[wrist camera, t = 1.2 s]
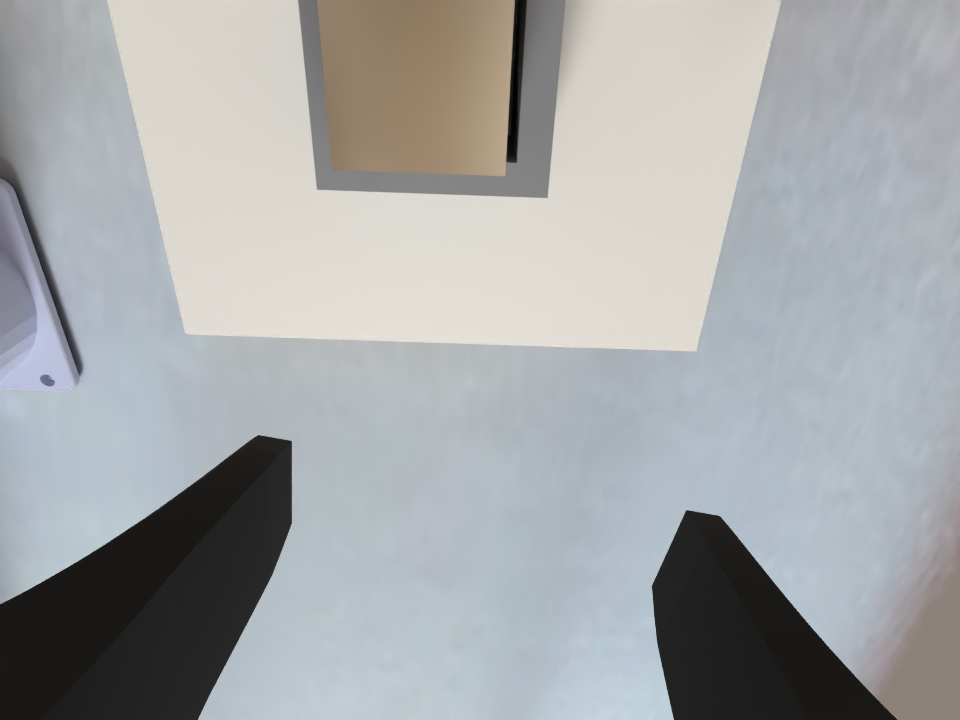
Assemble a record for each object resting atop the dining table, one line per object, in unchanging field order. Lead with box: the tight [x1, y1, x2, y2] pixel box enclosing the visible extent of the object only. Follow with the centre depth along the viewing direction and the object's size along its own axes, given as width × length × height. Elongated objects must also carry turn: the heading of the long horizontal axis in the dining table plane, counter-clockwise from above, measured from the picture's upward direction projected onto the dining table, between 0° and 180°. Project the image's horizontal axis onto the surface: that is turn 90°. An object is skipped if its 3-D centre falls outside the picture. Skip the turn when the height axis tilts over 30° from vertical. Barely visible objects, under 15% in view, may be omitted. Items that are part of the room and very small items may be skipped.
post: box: [317, 0, 515, 176], centre depth 13 cm, size 3×3×7 cm
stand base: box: [107, 0, 781, 351], centre depth 15 cm, size 18×18×5 cm
